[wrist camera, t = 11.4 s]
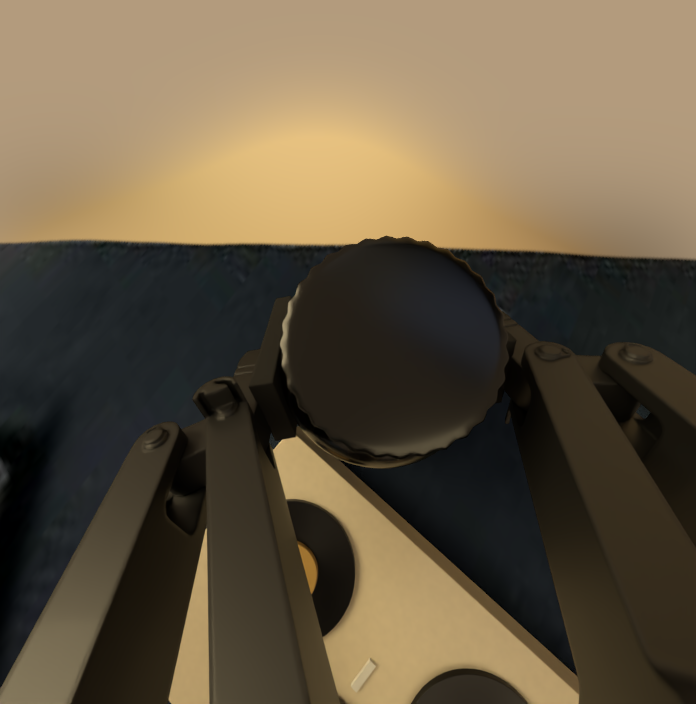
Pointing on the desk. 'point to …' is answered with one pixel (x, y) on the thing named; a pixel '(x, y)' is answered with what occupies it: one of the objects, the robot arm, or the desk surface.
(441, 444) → the supplement bottle
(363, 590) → the hob
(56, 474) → the desk surface
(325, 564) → the burners
